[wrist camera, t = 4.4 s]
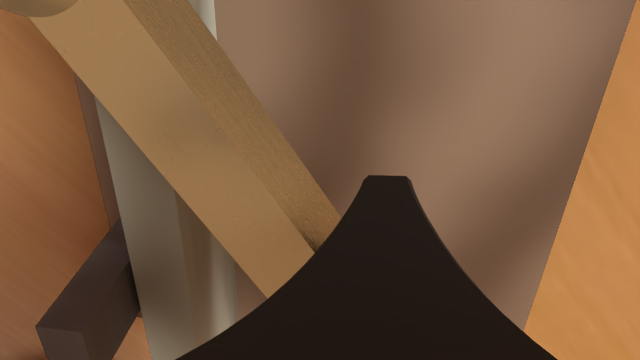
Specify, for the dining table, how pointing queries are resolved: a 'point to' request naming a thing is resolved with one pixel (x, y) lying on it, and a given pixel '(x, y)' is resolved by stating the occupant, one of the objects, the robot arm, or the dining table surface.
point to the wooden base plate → (359, 150)
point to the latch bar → (194, 125)
